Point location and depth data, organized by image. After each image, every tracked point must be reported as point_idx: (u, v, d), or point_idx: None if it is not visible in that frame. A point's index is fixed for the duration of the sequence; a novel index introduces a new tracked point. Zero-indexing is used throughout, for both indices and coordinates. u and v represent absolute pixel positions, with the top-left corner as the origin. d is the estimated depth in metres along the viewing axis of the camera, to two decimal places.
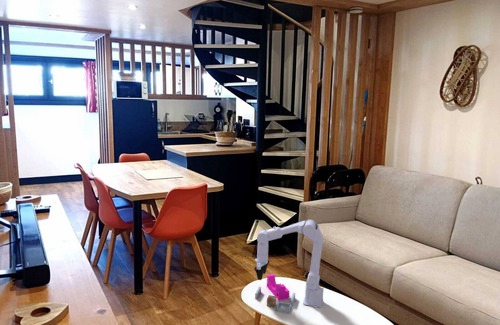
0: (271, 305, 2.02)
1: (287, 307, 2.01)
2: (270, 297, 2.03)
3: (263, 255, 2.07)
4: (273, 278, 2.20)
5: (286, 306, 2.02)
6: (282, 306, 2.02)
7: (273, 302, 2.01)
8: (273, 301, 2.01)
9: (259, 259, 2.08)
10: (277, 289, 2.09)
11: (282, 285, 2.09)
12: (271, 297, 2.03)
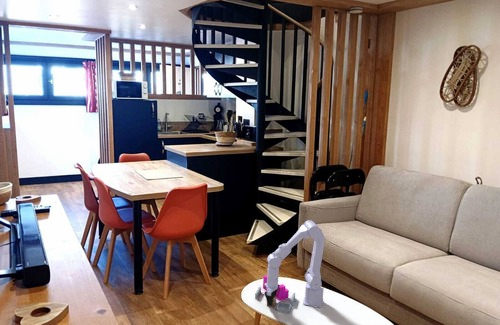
0: None
1: (287, 307, 2.01)
2: None
3: (273, 280, 1.98)
4: None
5: (286, 306, 2.02)
6: (282, 306, 2.02)
7: (273, 302, 2.01)
8: (273, 301, 2.01)
9: (269, 284, 1.99)
10: None
11: (282, 285, 2.09)
12: None
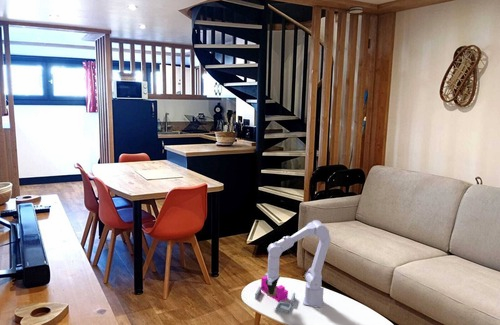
0: (272, 295, 2.01)
1: (287, 307, 2.01)
2: None
3: (274, 269, 1.97)
4: None
5: (286, 306, 2.02)
6: (282, 306, 2.02)
7: (274, 292, 2.00)
8: (274, 291, 2.00)
9: (270, 274, 1.98)
10: None
11: (281, 286, 2.08)
12: None
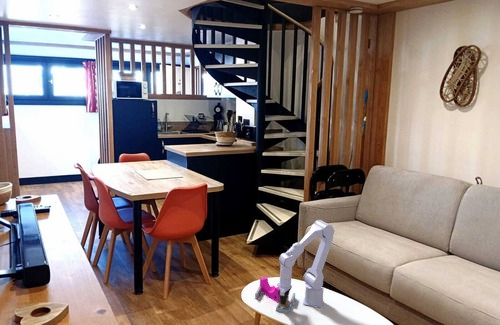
0: (283, 305, 1.98)
1: (287, 307, 2.01)
2: None
3: (286, 280, 1.94)
4: (266, 281, 2.16)
5: None
6: None
7: None
8: None
9: (282, 284, 1.95)
10: (276, 292, 2.06)
11: None
12: None
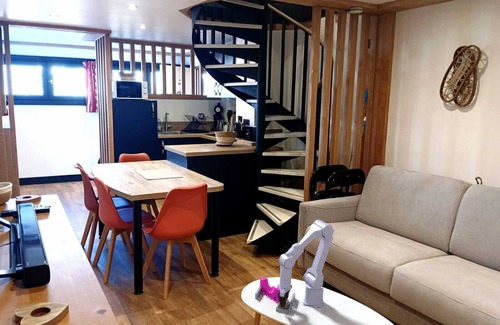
0: (283, 308, 1.98)
1: None
2: None
3: (286, 281, 1.94)
4: (266, 281, 2.16)
5: None
6: None
7: (285, 305, 1.97)
8: (285, 304, 1.97)
9: (282, 285, 1.95)
10: (275, 292, 2.06)
11: None
12: None
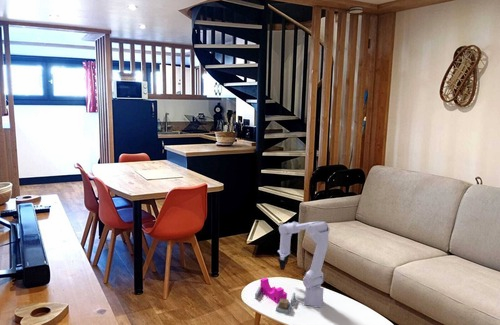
0: (283, 308, 1.98)
1: None
2: (282, 300, 2.00)
3: (286, 246, 2.19)
4: (267, 282, 2.15)
5: None
6: None
7: (285, 305, 1.97)
8: (285, 304, 1.97)
9: (282, 250, 2.20)
10: (275, 293, 2.05)
11: (280, 288, 2.06)
12: (283, 300, 2.00)
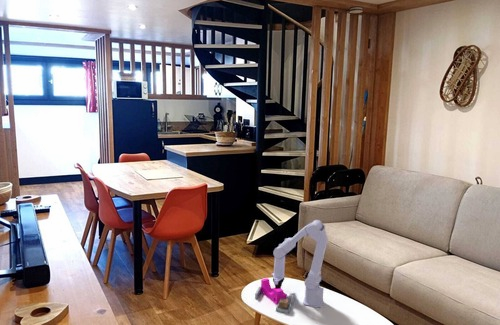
0: (283, 308, 1.98)
1: None
2: (282, 300, 2.00)
3: (280, 270, 2.11)
4: (267, 282, 2.14)
5: None
6: None
7: (285, 305, 1.97)
8: (285, 304, 1.97)
9: (276, 274, 2.12)
10: (274, 294, 2.04)
11: (279, 289, 2.05)
12: (283, 300, 2.00)
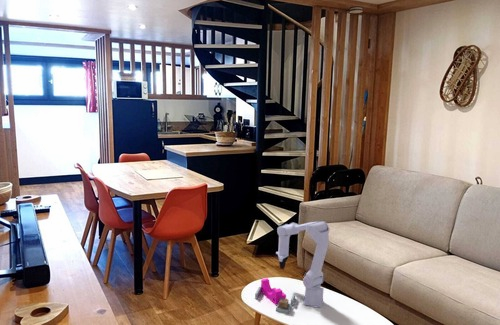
0: (283, 308, 1.98)
1: None
2: (282, 300, 2.00)
3: (284, 248, 2.18)
4: (267, 282, 2.14)
5: None
6: None
7: (285, 305, 1.97)
8: (285, 304, 1.97)
9: (280, 252, 2.19)
10: (274, 294, 2.04)
11: (279, 289, 2.04)
12: (283, 300, 2.00)
